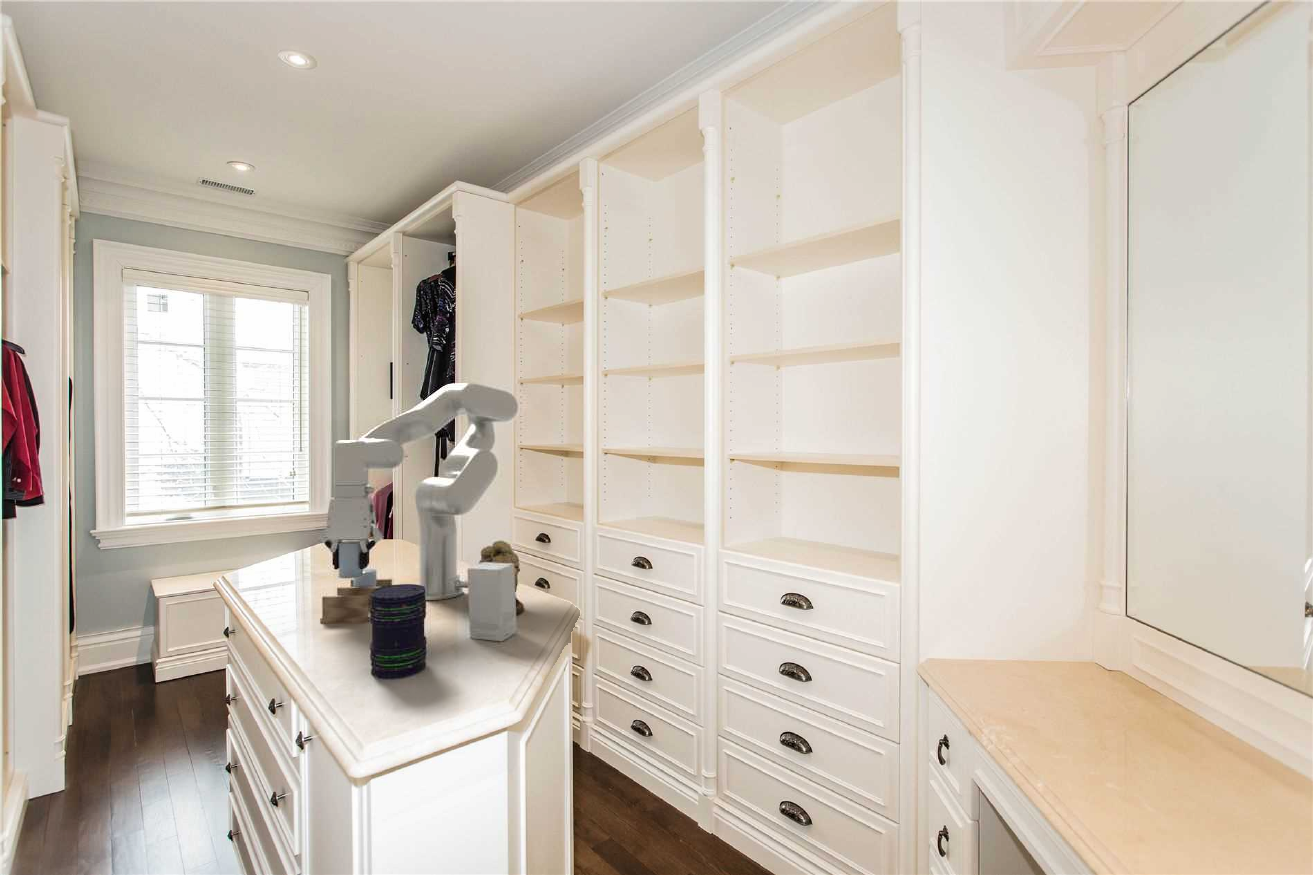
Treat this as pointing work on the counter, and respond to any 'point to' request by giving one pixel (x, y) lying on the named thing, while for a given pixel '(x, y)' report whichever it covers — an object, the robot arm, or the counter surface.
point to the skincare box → (492, 601)
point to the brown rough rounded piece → (503, 554)
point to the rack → (350, 603)
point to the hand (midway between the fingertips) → (350, 567)
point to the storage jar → (398, 631)
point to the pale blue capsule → (366, 579)
